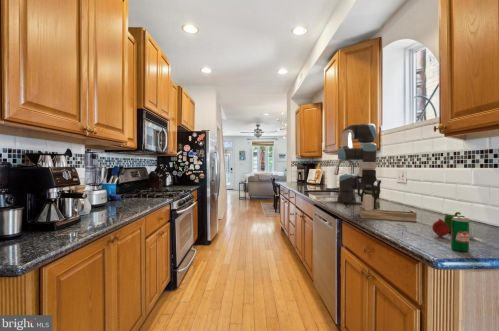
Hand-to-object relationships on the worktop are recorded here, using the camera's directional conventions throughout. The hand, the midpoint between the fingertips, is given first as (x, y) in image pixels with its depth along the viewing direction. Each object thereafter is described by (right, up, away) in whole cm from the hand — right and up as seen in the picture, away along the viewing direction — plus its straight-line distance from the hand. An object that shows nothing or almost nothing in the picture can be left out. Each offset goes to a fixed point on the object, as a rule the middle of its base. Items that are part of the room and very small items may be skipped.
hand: (367, 208), depth 149 cm
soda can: (+6, -6, -58) cm, 59 cm away
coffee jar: (+7, -5, +10) cm, 14 cm away
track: (+10, -5, -3) cm, 11 cm away
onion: (+12, -6, -41) cm, 43 cm away
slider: (0, -3, 0) cm, 3 cm away
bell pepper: (+24, -6, -35) cm, 42 cm away
